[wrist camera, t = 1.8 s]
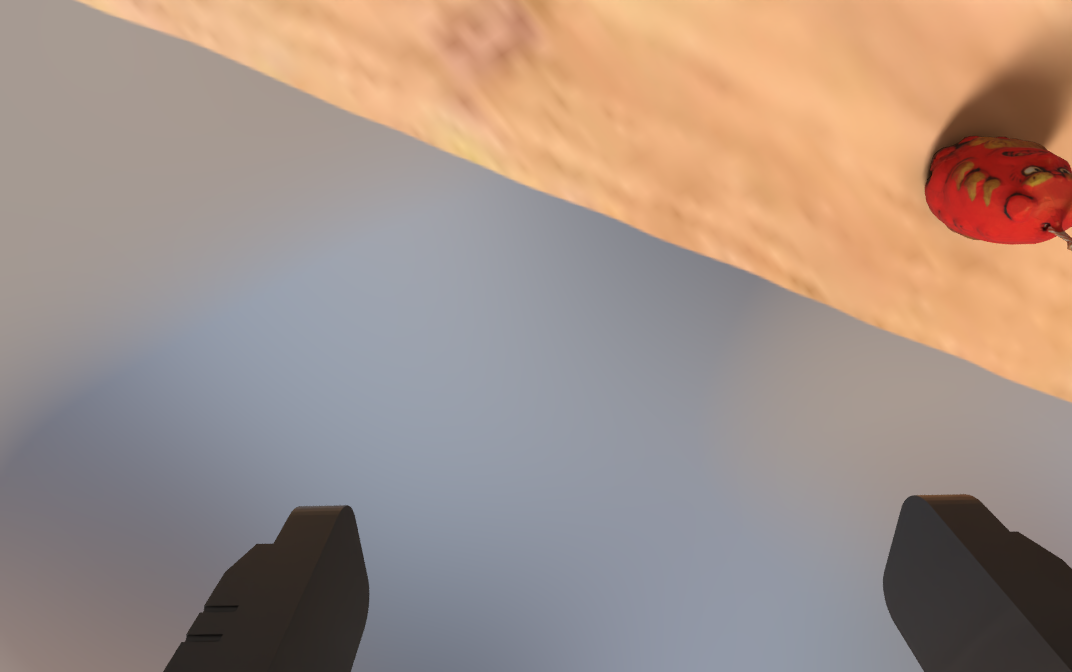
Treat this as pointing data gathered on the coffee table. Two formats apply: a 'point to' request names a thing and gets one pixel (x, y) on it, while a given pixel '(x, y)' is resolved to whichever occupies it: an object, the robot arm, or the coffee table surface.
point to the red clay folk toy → (1001, 191)
